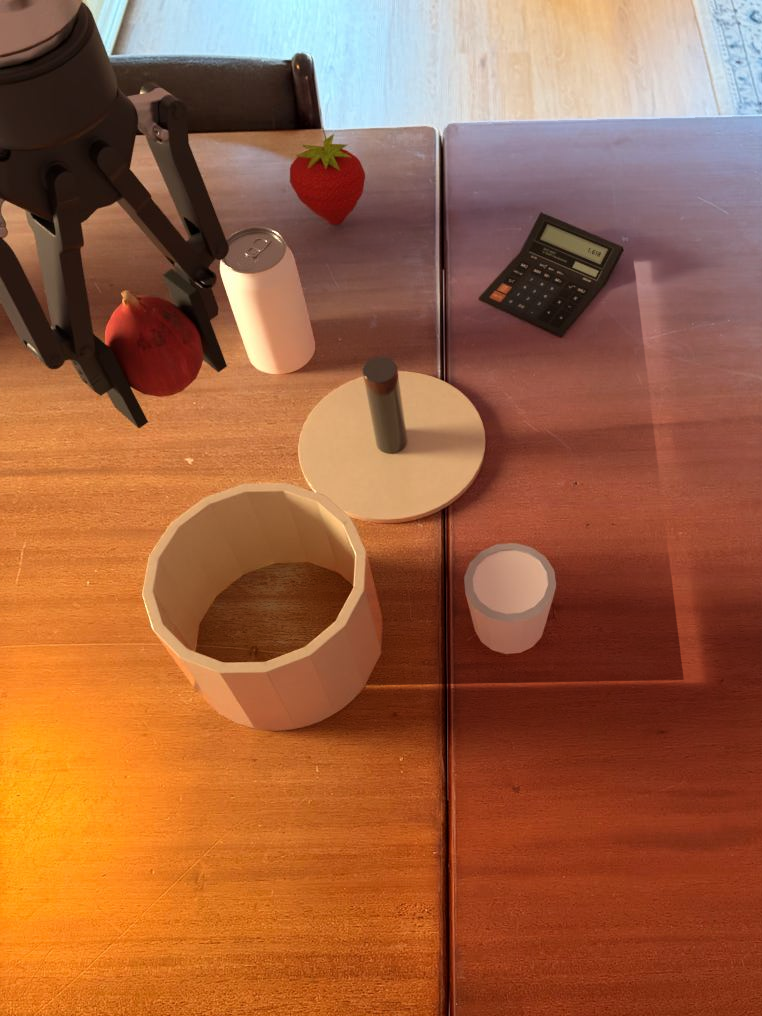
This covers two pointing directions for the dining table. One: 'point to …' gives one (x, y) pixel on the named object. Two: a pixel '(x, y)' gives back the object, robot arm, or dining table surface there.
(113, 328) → the onion
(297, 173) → the strawberry
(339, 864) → the dining table surface
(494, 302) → the calculator
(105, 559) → the dining table surface
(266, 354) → the can
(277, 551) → the pot
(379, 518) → the pot lid
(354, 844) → the dining table surface
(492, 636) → the shot glass
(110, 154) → the robot arm
